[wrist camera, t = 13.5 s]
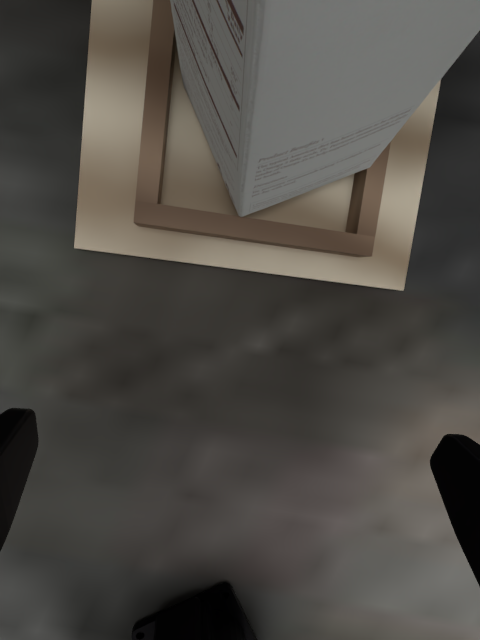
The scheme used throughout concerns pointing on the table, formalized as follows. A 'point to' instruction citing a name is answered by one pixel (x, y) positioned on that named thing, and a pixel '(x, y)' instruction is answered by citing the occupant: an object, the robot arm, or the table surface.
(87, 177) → the awning stand
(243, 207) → the supplement box
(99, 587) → the table surface
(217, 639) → the robot arm
